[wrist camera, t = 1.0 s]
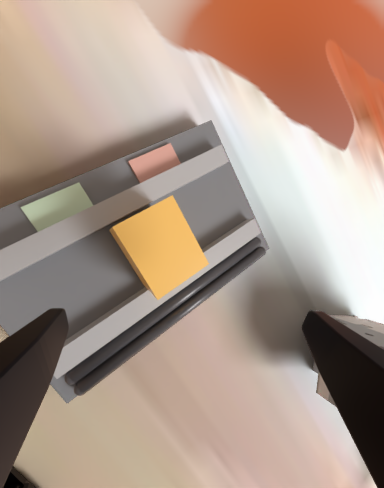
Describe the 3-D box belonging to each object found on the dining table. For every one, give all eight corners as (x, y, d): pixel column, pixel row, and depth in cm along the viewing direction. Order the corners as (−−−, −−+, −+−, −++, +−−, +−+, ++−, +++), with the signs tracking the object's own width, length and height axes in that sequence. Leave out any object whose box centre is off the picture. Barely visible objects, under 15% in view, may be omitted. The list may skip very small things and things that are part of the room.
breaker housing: (70, 386, 17) (64, 416, 14) (-51, 238, 14) (-90, 238, 11) (256, 247, 25) (277, 248, 22) (202, 130, 22) (217, 113, 19)
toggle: (142, 284, 17) (157, 300, 13) (109, 230, 16) (112, 226, 12) (182, 257, 19) (209, 264, 14) (153, 206, 18) (172, 195, 13)
